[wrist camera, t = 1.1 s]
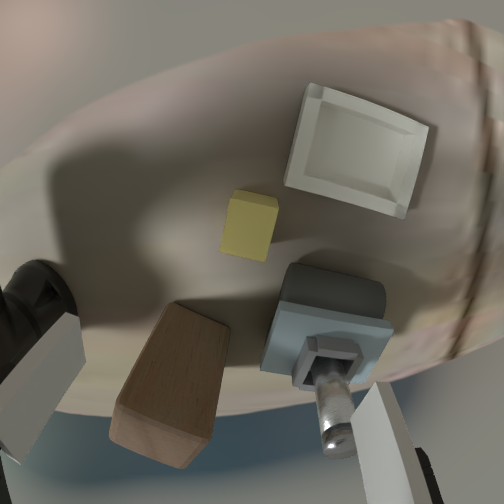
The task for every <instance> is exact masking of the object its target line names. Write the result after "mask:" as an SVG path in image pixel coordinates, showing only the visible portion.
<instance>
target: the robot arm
mask: <svg viewBox="0 0 504 504" xmlns="http://www.w3.org/2000/svg"><path fill="white" fill-rule="evenodd" d="M85 363H86V359H85V353H84V347H83V341H82V334H81V327H80V319H79V317H77V310H76V305H75V302H74V299H73V297H72V294H71V292H70V290H69V289H68V287H67V285H66V284H65V282H64V281H63V280H62V278H61V277H60V276H59V275H58V274H57V273H56V272H55V271H54V270H53V269H52V268H50V267H49V266H47V265H46V264H44V263H42V262H39V261H29V262H26V263H25V264H23V265H22V266H20V267H19V268H18V269H17V270H16V271H15V272H14V274H13V276H12V279H11V280H10V281H9V283H8V284H7V286H6V287H5V289H4V290H3V292H2V289H1V286H0V450H1V449H2V450H3V451H4V452H5V454H7V456H9V457H10V458H11V459H13V460H14V461H16V462H17V463H19V464H20V465H22V464H23V462H24V460H25V458H26V457H27V455H28V453H29V451H30V450H31V448H32V446H33V444H34V443H35V441H36V439H37V438H38V436H39V434H40V432H41V430H42V429H43V427H44V426H45V424H46V422H47V421H48V419H49V418H50V416H51V414H52V413H53V411H54V410H55V408H56V407H57V405H58V403H59V402H60V400H61V399H62V397H63V396H64V394H65V393H66V391H67V390H68V388H69V387H70V385H71V383H72V382H73V380H74V379H75V378H76V376H77V375H78V373H79V372H80V370H81V369H82V367H83V366H84V364H85ZM350 421H351V425H352V430H353V434H354V438H355V443H356V448H357V452H358V456H359V462H360V466H361V471H362V476H363V481H364V487H365V492H366V497H367V502H368V504H444V502H443V500H442V497H441V494H440V491H439V488H438V485H437V482H436V478H435V475H433V474H434V473H433V470H432V468H431V464H430V461H429V458H428V456H427V455H426V453H425V452H424V451H423V450H422V448H414V445H413V442H412V440H411V437H410V434H409V431H408V429H407V426H406V423H405V421H404V418H403V416H402V413H401V411H400V408H399V405H398V403H397V400H396V398H395V395H394V393H393V390H392V388H391V386H390V383H389V382H375V383H374V385H373V386H372V388H371V389H370V391H369V392H368V394H367V395H366V396H365V398H364V399H363V401H362V402H361V404H360V405H359V407H358V408H357V409H356V411H355V412H354V413H353V415H352V416H351V418H350ZM0 504H12V502H11V499H10V495H9V492H8V488H7V484H6V480H5V476H4V471H3V466H2V461H1V456H0Z"/></svg>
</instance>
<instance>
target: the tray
mask: <svg viewBox="0 0 504 504" xmlns="http://www.w3.org/2000/svg"><path fill="white" fill-rule="evenodd" d="M428 129H429V127H427V126H425V125H423V124H421V123H419V122H417V121H415V120H412V119H410V118H408V117H406V116H403V115H401V114H399V113H396V112H394V111H392V110H389V109H387V108H384V107H382V106H379V105H377V104H374V103H372V102H369V101H366V100H363V99H361V98H358V97H355V96H352V95H349V94H346V93H343V92H340V91H337V90H334V89H331V88H327V87H324V86H321V85H317V84H314V83H309V85H308V86H307V87H306V89H305V92H304V96H303V101H302V105H301V109H300V113H299V117H298V121H297V126H296V130H295V134H294V138H293V142H292V146H291V150H290V154H289V158H288V162H287V167H286V171H285V175H284V179H283V182H284V185H285V186H287V187H292V188H295V189H299V190H303V191H307V192H311V193H315V194H319V195H322V196H326V197H330V198H333V199H337V200H340V201H344V202H347V203H351V204H354V205H358V206H361V207H364V208H368V209H371V210H374V211H377V212H381V213H384V214H387V215H390V216H393V217H396V218H399V219H402V220H404V218H405V215H406V212H407V209H408V206H409V203H410V199H411V196H412V193H413V189H414V186H415V182H416V179H417V175H418V171H419V167H420V164H421V160H422V156H423V151H424V147H425V143H426V139H427V134H428Z"/></svg>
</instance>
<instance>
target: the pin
mask: <svg viewBox="0 0 504 504" xmlns="http://www.w3.org/2000/svg"><path fill="white" fill-rule="evenodd" d="M311 371H312V377H313V383H314V390H315V396H316V403H317V409H318V416H319V423H320V430H321V438H322V445H323V453H324V456H325V457H326V458H328V459H344V458H348V457H351V456H353V455H355V454H357V453H358V452H357V448H356V443H355V438H354V434H353V430H352V425H351V421H350V418H351V416H352V415H353V413H354V412H355V408H354V404H353V400H352V397H351V393H350V389H349V386H348V382H347V378H346V375H345V371H344V368H343V364H342V361H341V359H338V358H330V357H323V356H316V357H315V359H314V361H313V363H312V365H311Z"/></svg>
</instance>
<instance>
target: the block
mask: <svg viewBox="0 0 504 504" xmlns="http://www.w3.org/2000/svg"><path fill="white" fill-rule="evenodd" d="M229 338H230V329H229V328H228V327H226V326H224V325H222V324H220V323H217V322H215V321H213V320H211V319H208V318H206V317H204V316H202V315H199V314H197V313H195V312H193V311H191V310H189V309H186V308H184V307H182V306H180V305H178V304H176V303H170V304H168V305H167V306H166V308H165V309H164V311H163V313H162V315H161V317H160V318H159V320H158V322H157V324H156V326H155V327H154V329H153V331H152V333H151V335H150V336H149V338H148V340H147V342H146V344H145V346H144V348H143V349H142V351H141V353H140V355H139V357H138V359H137V361H136V363H135V364H134V366H133V368H132V370H131V372H130V374H129V376H128V378H127V380H126V382H125V384H124V386H123V388H122V390H121V392H120V394H119V395H118V397H117V399H116V403H115V408H114V412H113V417H112V421H111V426H110V431H109V438H110V439H111V440H112V441H113V442H114V443H117V444H119V445H121V446H123V447H125V448H127V449H130V450H132V451H134V452H137V453H139V454H141V455H144V456H146V457H149V458H151V459H154V460H157V461H159V462H162V463H165V464H167V465H170V466H173V467H176V468H186V467H187V465H189V463H190V462H191V461H192V460H193V459H194V458H195V457H196V456H197V455H198V454H199V452H200V451H201V450H202V449H203V448H204V447H205V446H206V445H207V443H208V442H209V441H210V440H211V438H212V432H213V426H214V421H215V415H216V410H217V404H218V399H219V393H220V388H221V382H222V376H223V371H224V365H225V360H226V355H227V349H228V344H229Z"/></svg>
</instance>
